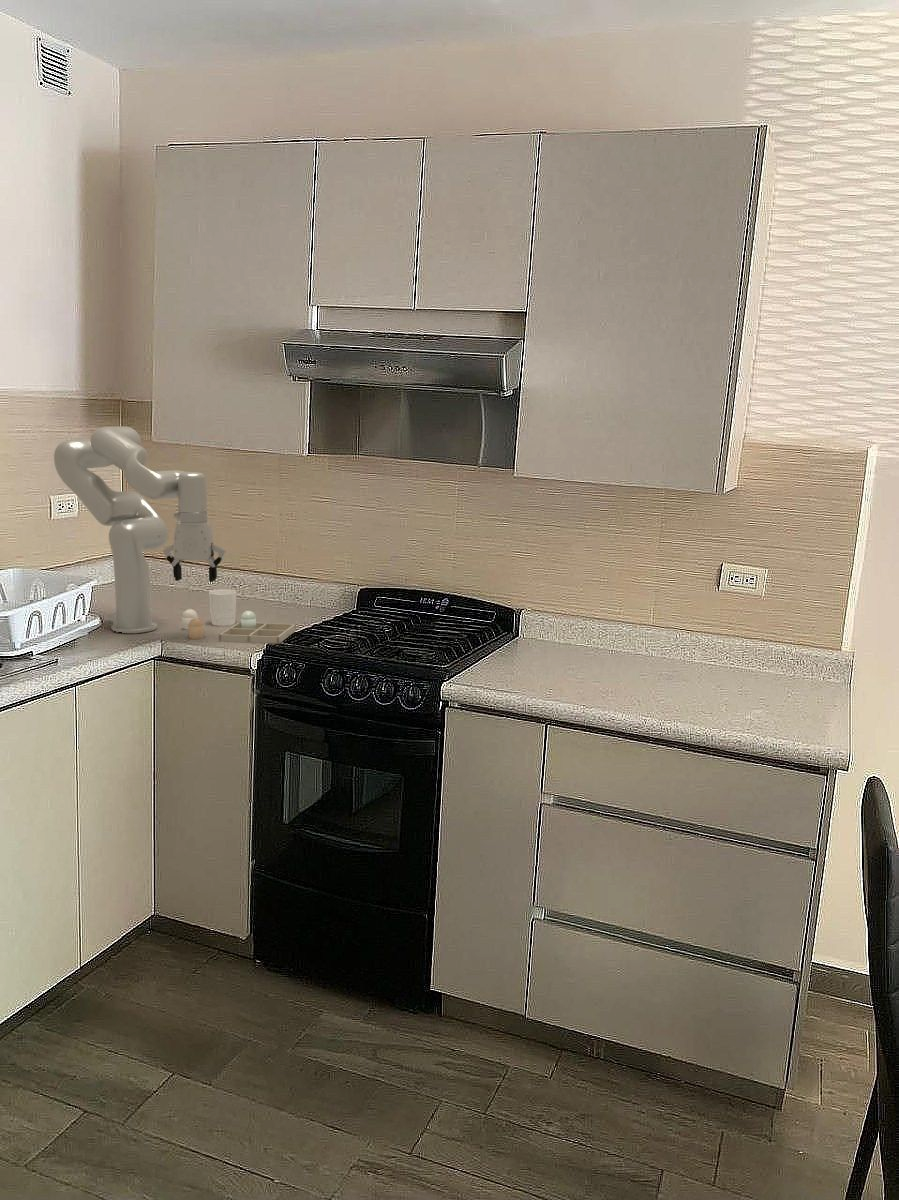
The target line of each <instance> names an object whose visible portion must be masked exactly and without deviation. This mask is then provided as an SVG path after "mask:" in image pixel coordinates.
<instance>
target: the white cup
mask: <svg viewBox="0 0 899 1200" xmlns="http://www.w3.org/2000/svg"><path fill="white" fill-rule="evenodd" d="M208 598H209V599H208V600H209V612H210V619H211V625H213V626H216V627H217V626H218V627H226V626H228V627H229V626H233V625H235V624H236V613H237V590H234V589H213V590H210V591H208Z"/></svg>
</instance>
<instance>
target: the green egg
mask: <svg viewBox="0 0 899 1200" xmlns="http://www.w3.org/2000/svg"><path fill="white" fill-rule="evenodd" d="M240 622H241V628H243V629H256V623H257V616H256V614H255V612H253V611H251V610H246V611H243V613H242V614H241V616H240Z"/></svg>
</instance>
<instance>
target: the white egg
mask: <svg viewBox="0 0 899 1200" xmlns="http://www.w3.org/2000/svg"><path fill="white" fill-rule="evenodd" d="M193 618H199V617H198V613H197V611H196V610H194V609H192V608H187V609H186V610H184V611H183V613H182V629H183V630H186V631H189V628H188V625H189V622H190V620H191V619H193Z"/></svg>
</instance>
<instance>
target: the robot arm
mask: <svg viewBox="0 0 899 1200" xmlns="http://www.w3.org/2000/svg"><path fill="white" fill-rule="evenodd" d="M53 461H54V467H55V470H56V472H57V474H58V476H59V478H60V479H61V481H62V482H63V483H64V485H65V486H67V487H68V489H70V490H71V492H72V493H74V494H75V495H76V496H77V498H78V499H79V500H80V501H81V503H82V504H83V505H84V507H85V508H86V509H87V510H88V511H89V513H90V514H91V515H92V516H93V517H94V518H95V520H96V521H97V522H98V523H100V525H102V526H105V527H106V526H107V527H110V528H109V531H108V541H109V542H108V543H109V545H110V550H111V554H112V561H113V562H112V563H113V571H114V572H113V574H114V575H113V576H114V592H115V597H114V598H115V613H114V614H112V613H105V614H104V615H103V621H104V623H105V622H106V623H109V622H110V623H112V625H111V626H110V627H111V629H112V630H113V631H112V630H111V631H112V632H114V631H116V632H115V633H118V632H122V633H121V634H141V633H147V632H153V631H155V630H156V629H158V623H156V622H154V621H152V610H151V608H152V606H151V585H150V583H151V581H150V568H149V567H150V566H149V564H148V561H147V559H146V557H145V555H144V553H143V552H146V551H147V552H148V551H153V550H154V551H155V550H158V549H160V548H162V547H164V546H165V545H166V544H167V543H168V539H169V531H168V527H167V525H166V523H165V521H164V520H163V519H162V518H161V516H160V515H159V514H158V513H157V512H156V510H154V508H153V507H152V505H150V503H149V502H148V501H147V500H146V499H150V500H164V499H165V500H166V499H177V507H178V511H177V513H173V519H176V520H177V521H178V522H177V523H175V527H174V535H173V544H172V545H170V546H168V547H166V548H164V549H163V550H162V552H163V554H164V556H165V558H166V560H167V561H168V562H169V563H170V564H171V566H172V567H173V569H172V570H173V572H172V573H173V578H174V581H175V582H179V581H182V577H183V576H182V574H183V573H182V564H180V563H181V562H182V561H194V562H195V561H196V562H201V561H203V562H205V561H206V563H208V564H209V567H208V579H209V582H210V583H213V582H215V581H216V579H217V578H218V569H217V568H218V567H219V564H220V563H221V562H222V561H223V560H224V557H225V555H226V554H227V552H226V550H225V549H223V548H222V547H219V545H218V546H217V545H216V544H214V536H213V531H212V528H211V527H212V526H211V523H210V522H208V504H207V503H208V499H207V479H206V478H207V477H206V475H205V474H204V473H203V472H197V471H186V470H179V469H175V470H174V469H173V470H168V469H167V470H157V471H153V470H152V469H149V468H148V467H146V464H147V462H148V452H147V450H146V448H144V447H143V446H142V440H141V437H140V434H139V433H138V432H137V430H136V429H134V428H132V427H130V426H125V425H124V426H119V425H118V426H102V427H99V428H97V429H95V430H94V431H93V432H92V433H91V435H90V438H72V439H67V440H64V441H62V442H60V443H58V445H57V446H56V448H55V450H54V453H53ZM110 466H114V467H116V468H118V469H119V470H121V471H123V475H124V478H125V481H126V482H127V484H128V485H129V487H130V488H131V489H133V490H134V491H132V490H124V491H115V490H113V489H112V488H110V486H108V484H107V483H106V482H105V480H104V479H103V478H102V477H100V476H99V475H97V474H96V473H94V472H92V471H91V470H89V469H96V468H98V469H99V468H104V467H105V468H106V467H110ZM143 496H144V497H143ZM145 497H146V499H145ZM172 551H173V555H172V553H171V552H172ZM215 553H217V554H218V555H217V557H216V558H214V556H215ZM217 566H218V567H217Z"/></svg>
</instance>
